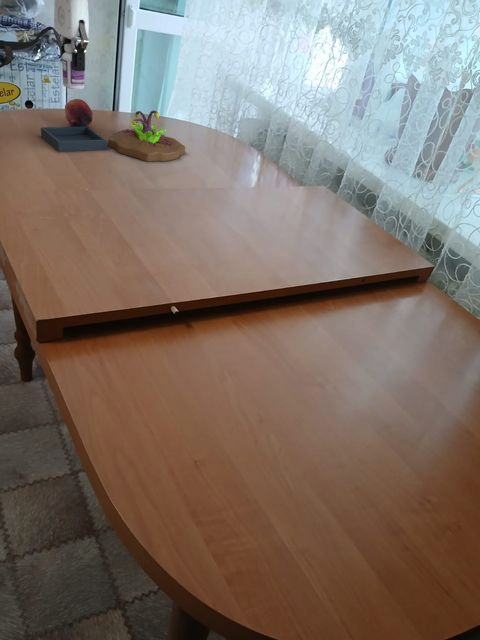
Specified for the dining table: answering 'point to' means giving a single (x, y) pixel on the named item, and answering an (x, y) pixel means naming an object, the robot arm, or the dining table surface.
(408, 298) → the dining table surface
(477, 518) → the dining table surface
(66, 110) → the fruit
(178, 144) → the plant
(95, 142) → the tray
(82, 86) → the pill bottle
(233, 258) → the dining table surface
